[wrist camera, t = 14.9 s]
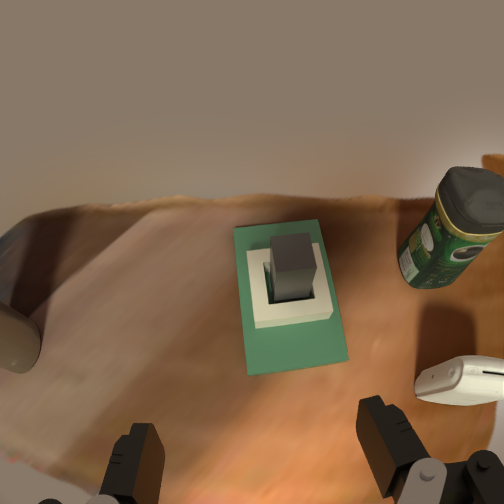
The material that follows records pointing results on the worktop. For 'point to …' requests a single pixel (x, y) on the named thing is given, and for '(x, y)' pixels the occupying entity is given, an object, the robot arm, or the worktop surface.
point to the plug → (291, 267)
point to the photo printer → (462, 381)
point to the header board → (287, 337)
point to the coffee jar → (454, 227)
